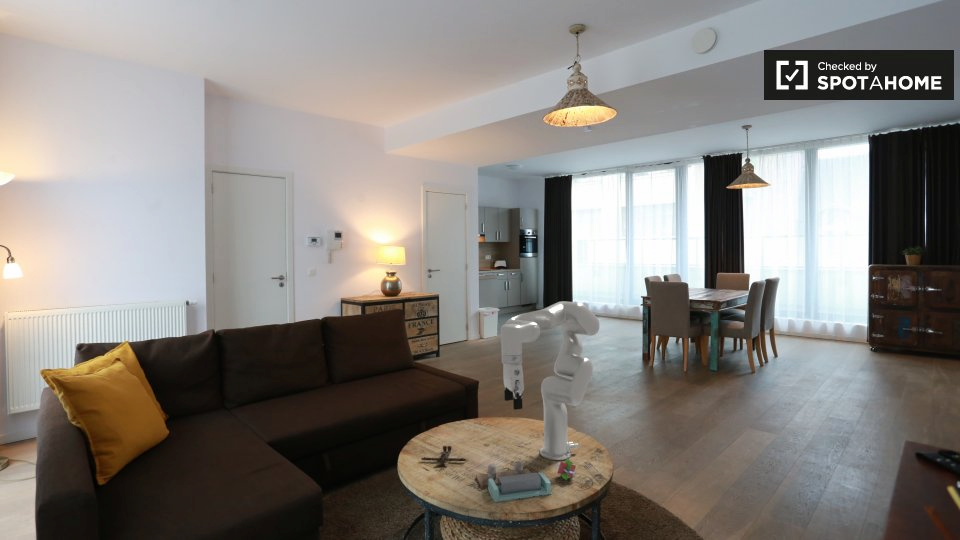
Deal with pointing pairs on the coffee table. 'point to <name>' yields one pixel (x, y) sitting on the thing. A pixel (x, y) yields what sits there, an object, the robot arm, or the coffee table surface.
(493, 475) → the peg stand
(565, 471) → the geometric puzzle
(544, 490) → the slot holder
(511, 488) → the steel bar
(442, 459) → the bear figurine
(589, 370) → the robot arm
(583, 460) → the coffee table surface
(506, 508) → the coffee table surface
